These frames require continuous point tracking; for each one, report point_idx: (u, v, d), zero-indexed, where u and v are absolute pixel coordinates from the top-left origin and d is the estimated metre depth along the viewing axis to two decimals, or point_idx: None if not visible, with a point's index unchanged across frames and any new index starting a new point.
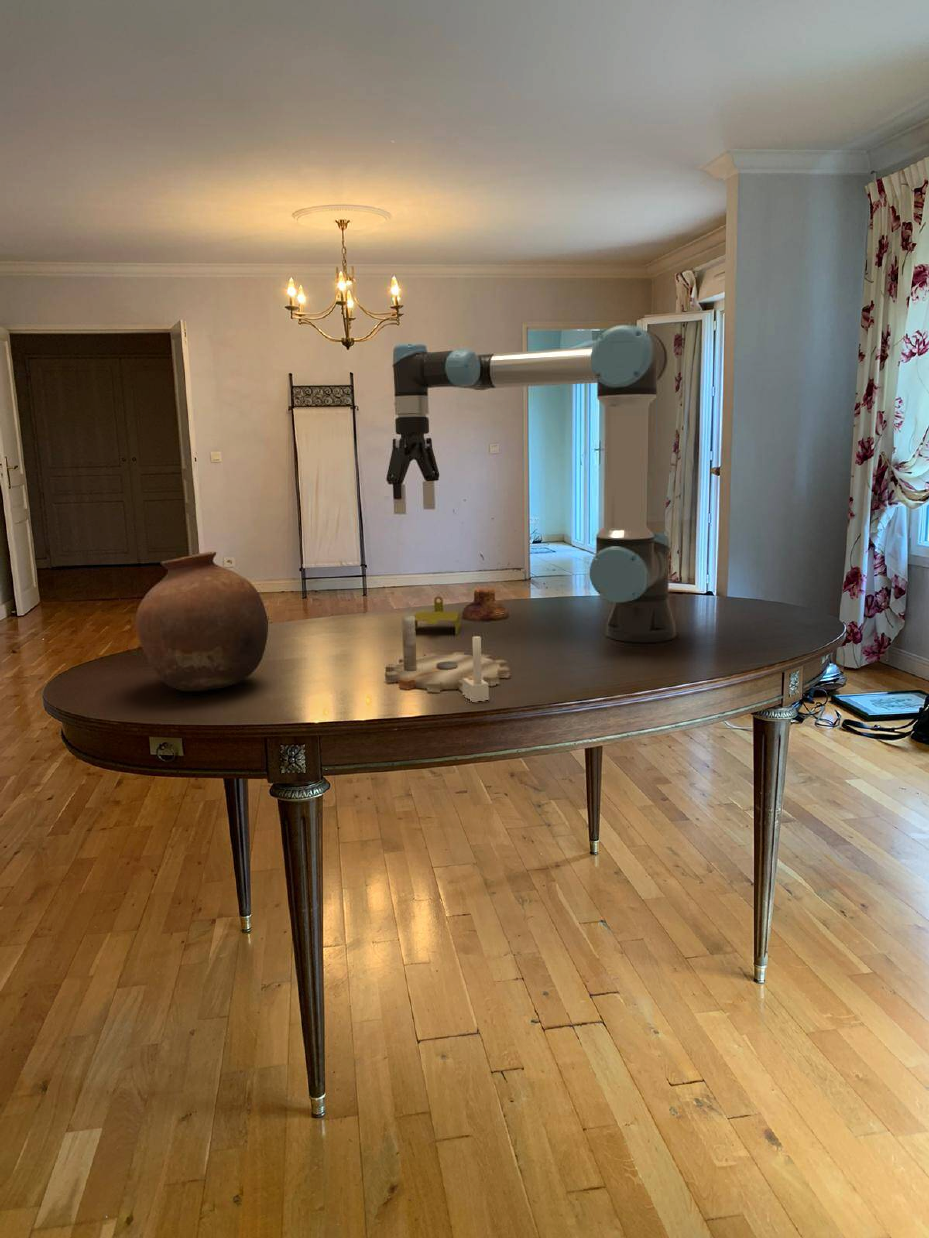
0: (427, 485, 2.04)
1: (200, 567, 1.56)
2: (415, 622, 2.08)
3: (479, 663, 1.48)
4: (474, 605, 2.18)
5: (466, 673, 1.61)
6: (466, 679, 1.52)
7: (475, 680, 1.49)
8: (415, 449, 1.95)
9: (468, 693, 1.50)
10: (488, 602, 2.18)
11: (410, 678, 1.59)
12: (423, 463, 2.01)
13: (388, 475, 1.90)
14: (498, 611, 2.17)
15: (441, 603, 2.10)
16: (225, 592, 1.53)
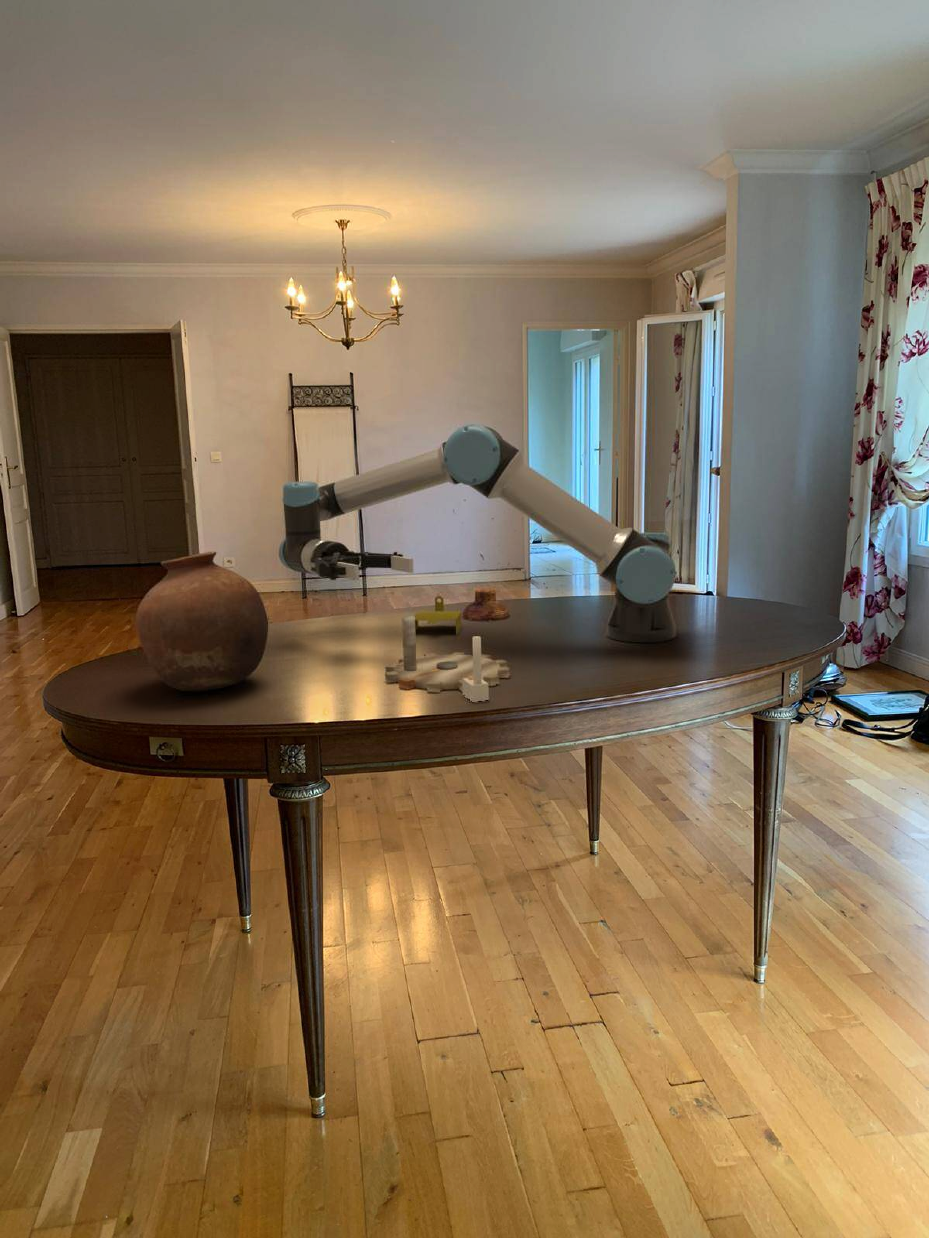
0: (393, 563, 1.74)
1: (200, 567, 1.56)
2: (416, 622, 2.08)
3: (479, 663, 1.48)
4: (475, 605, 2.18)
5: (466, 673, 1.61)
6: (466, 679, 1.52)
7: (475, 680, 1.49)
8: (336, 554, 1.75)
9: (468, 693, 1.50)
10: (489, 602, 2.18)
11: (410, 678, 1.59)
12: (369, 559, 1.77)
13: (319, 574, 1.67)
14: (499, 611, 2.17)
15: (442, 603, 2.11)
16: (225, 592, 1.53)
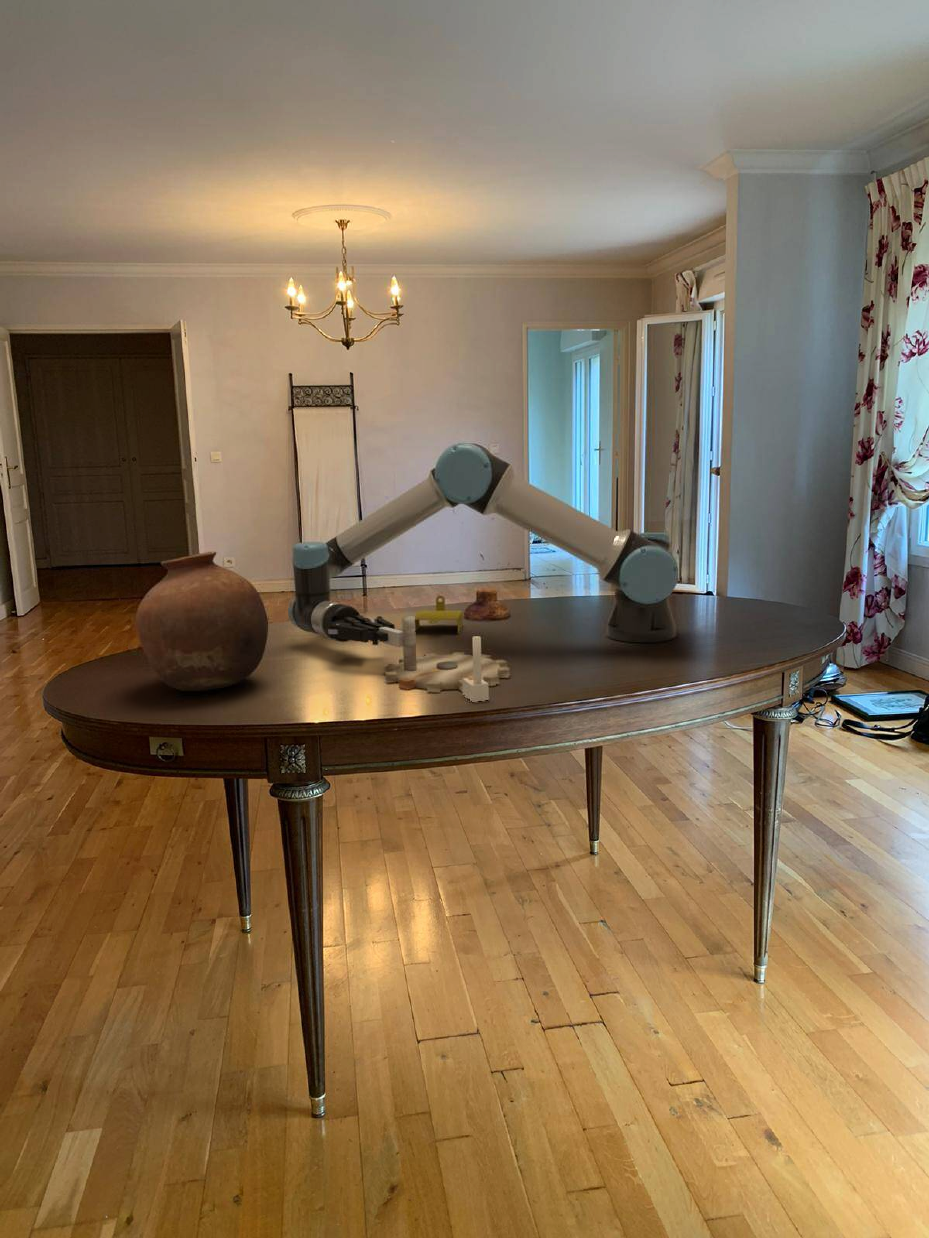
0: None
1: (200, 567, 1.56)
2: (417, 621, 2.09)
3: (479, 663, 1.48)
4: (476, 605, 2.18)
5: (466, 673, 1.61)
6: (466, 679, 1.52)
7: (475, 680, 1.49)
8: (350, 619, 1.76)
9: (468, 693, 1.50)
10: (490, 602, 2.18)
11: (410, 678, 1.59)
12: None
13: (360, 639, 1.69)
14: (500, 611, 2.17)
15: (443, 602, 2.11)
16: (225, 592, 1.53)
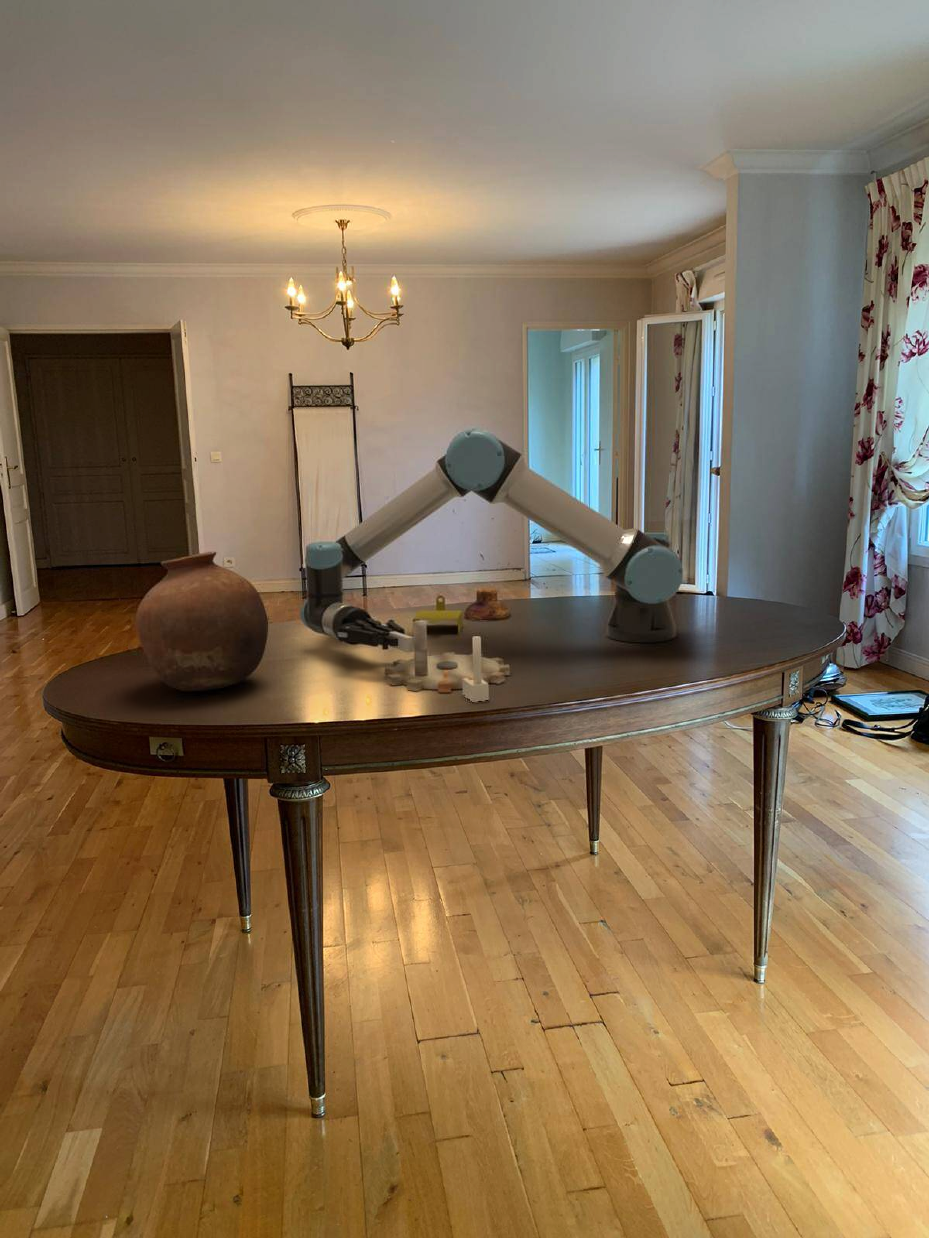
0: None
1: (200, 567, 1.56)
2: None
3: (479, 663, 1.48)
4: (476, 605, 2.18)
5: None
6: (466, 679, 1.52)
7: (475, 680, 1.49)
8: (360, 622, 1.71)
9: (468, 693, 1.50)
10: (490, 602, 2.18)
11: (445, 681, 1.56)
12: None
13: (370, 643, 1.64)
14: (500, 611, 2.17)
15: (443, 602, 2.11)
16: (225, 592, 1.53)
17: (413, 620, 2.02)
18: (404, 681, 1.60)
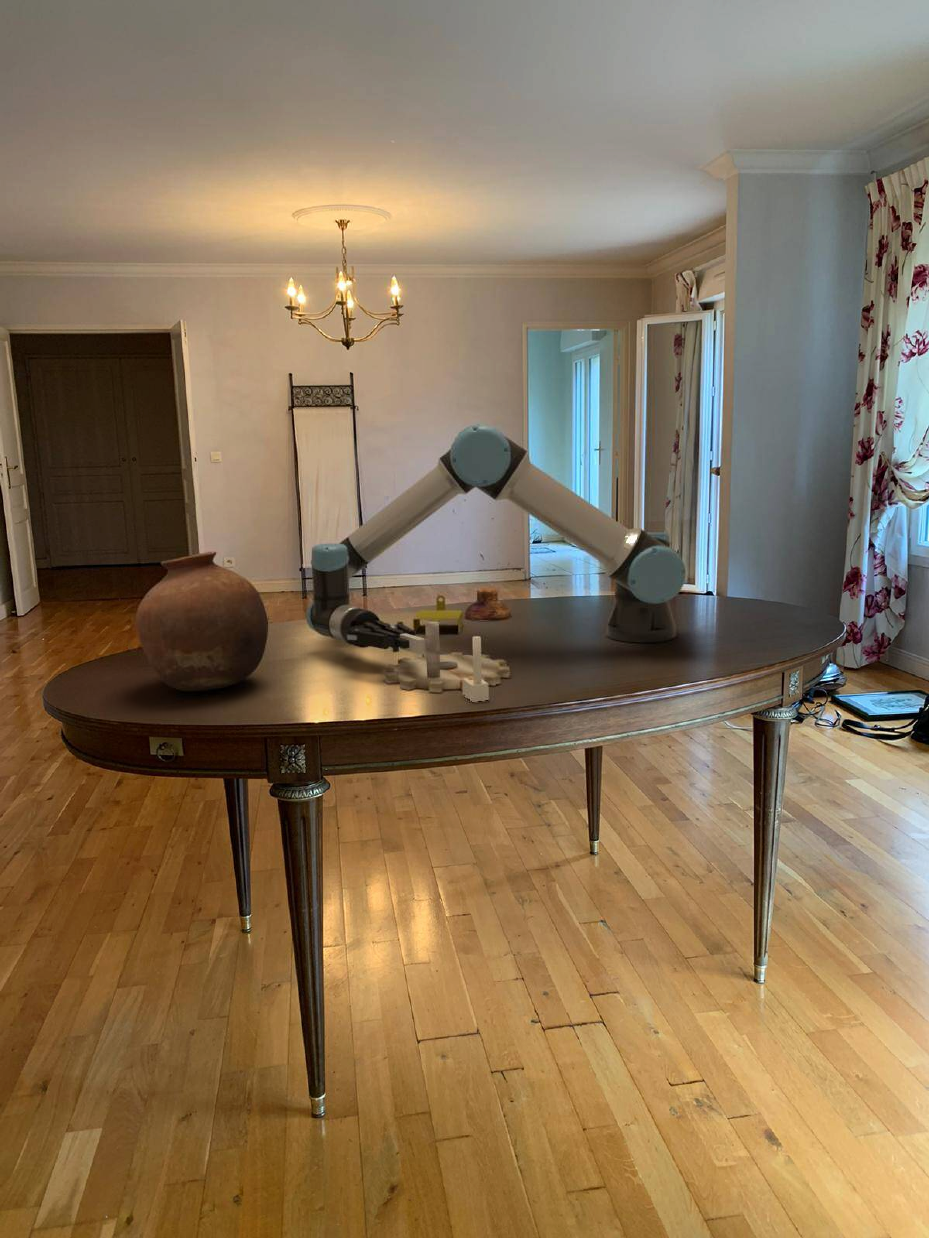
0: None
1: (200, 567, 1.56)
2: (418, 621, 2.09)
3: (479, 663, 1.48)
4: (477, 605, 2.18)
5: None
6: (466, 679, 1.52)
7: (475, 680, 1.49)
8: (369, 624, 1.69)
9: (468, 693, 1.50)
10: (491, 602, 2.18)
11: None
12: None
13: (381, 646, 1.62)
14: (501, 611, 2.17)
15: (443, 602, 2.12)
16: (225, 592, 1.53)
17: (413, 620, 2.03)
18: (419, 684, 1.58)
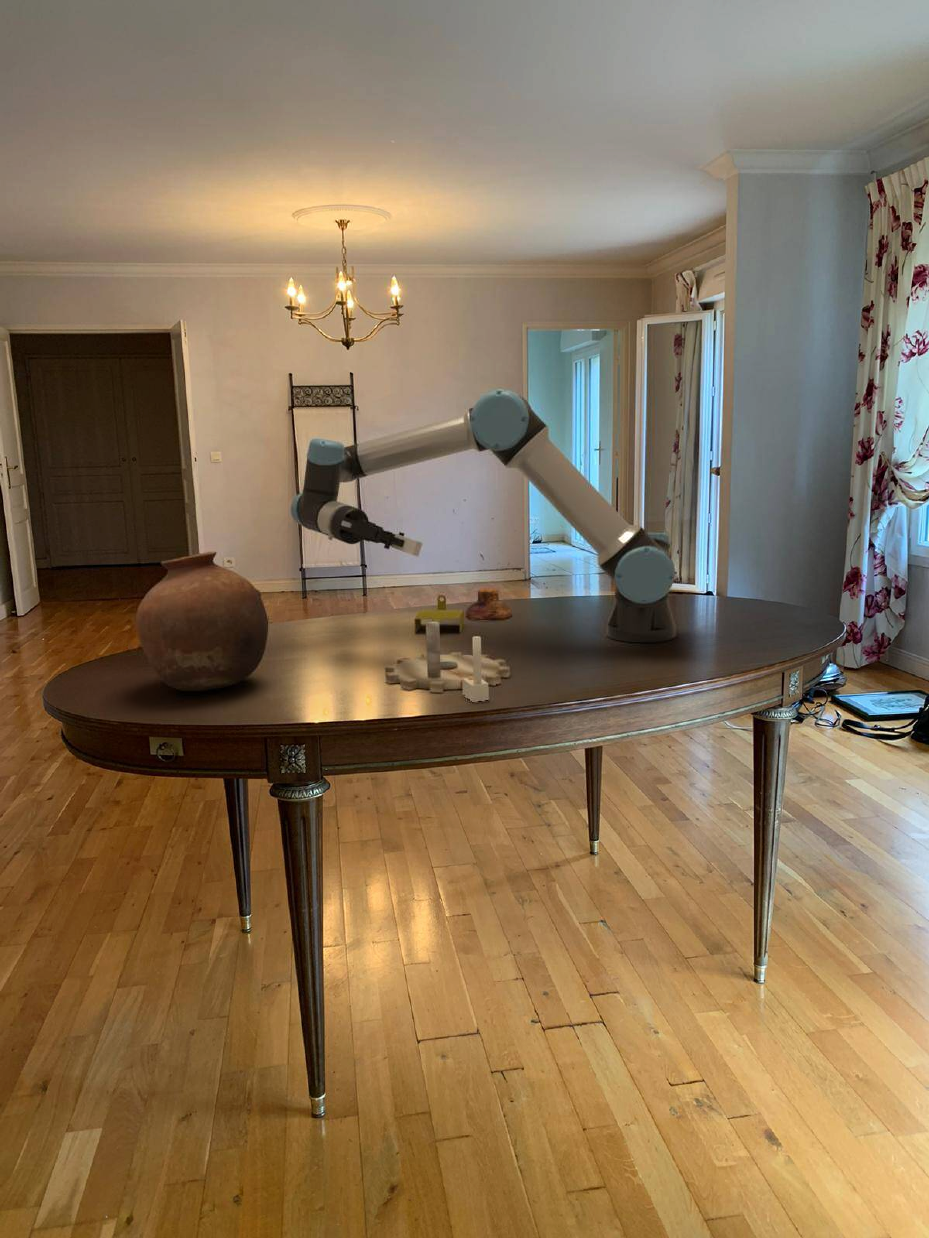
0: None
1: (200, 567, 1.56)
2: (419, 620, 2.10)
3: (479, 663, 1.48)
4: (478, 605, 2.18)
5: None
6: (466, 679, 1.52)
7: (475, 680, 1.49)
8: (364, 520, 1.76)
9: (468, 693, 1.50)
10: (492, 602, 2.18)
11: None
12: None
13: (375, 538, 1.69)
14: (502, 611, 2.17)
15: (444, 601, 2.12)
16: (225, 592, 1.53)
17: (415, 619, 2.03)
18: (420, 685, 1.57)
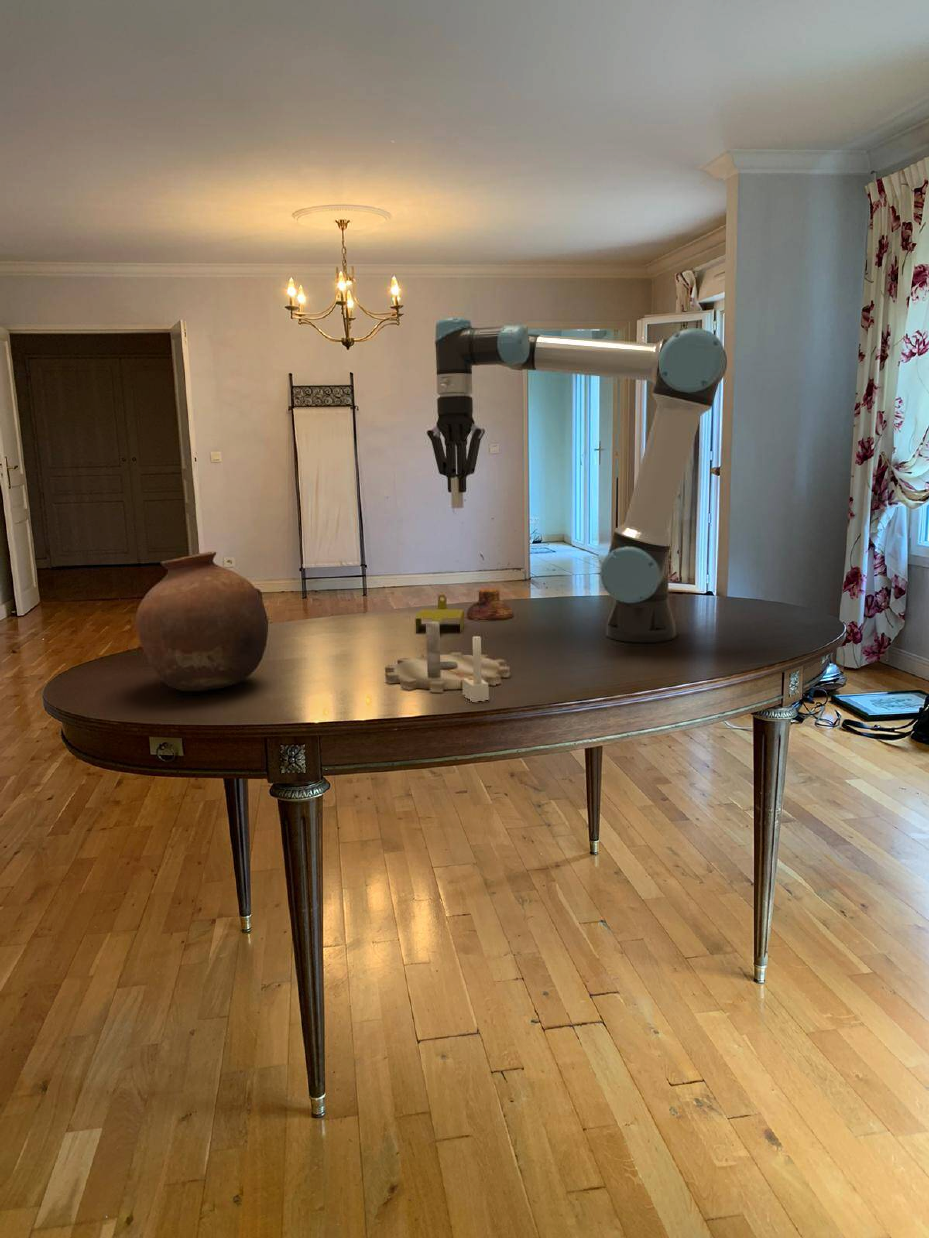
0: None
1: (200, 567, 1.56)
2: (419, 620, 2.10)
3: (479, 663, 1.48)
4: (479, 605, 2.18)
5: None
6: (466, 679, 1.52)
7: (475, 680, 1.49)
8: None
9: (468, 693, 1.50)
10: (493, 602, 2.18)
11: None
12: (454, 450, 1.88)
13: (470, 469, 1.86)
14: (503, 611, 2.17)
15: (445, 601, 2.12)
16: (225, 592, 1.53)
17: (415, 619, 2.03)
18: (420, 685, 1.57)
